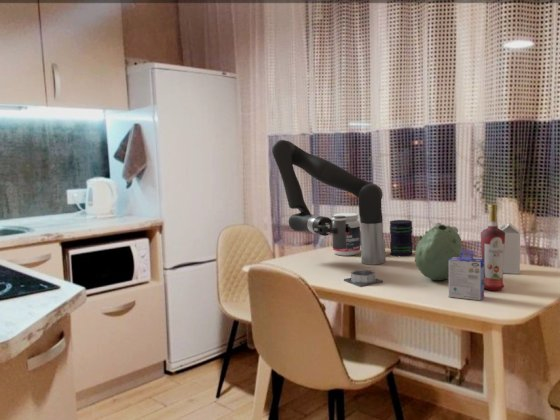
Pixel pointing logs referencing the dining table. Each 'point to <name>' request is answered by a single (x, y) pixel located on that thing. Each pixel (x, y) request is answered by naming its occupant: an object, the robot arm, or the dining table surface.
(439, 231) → the green bumpy vase
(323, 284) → the dining table surface
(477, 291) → the ink cartridge box
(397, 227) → the storage jar
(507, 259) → the milk carton
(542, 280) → the dining table surface
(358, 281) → the grey ring on plate
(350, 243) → the supplement tub
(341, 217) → the tube
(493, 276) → the liquor
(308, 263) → the dining table surface
